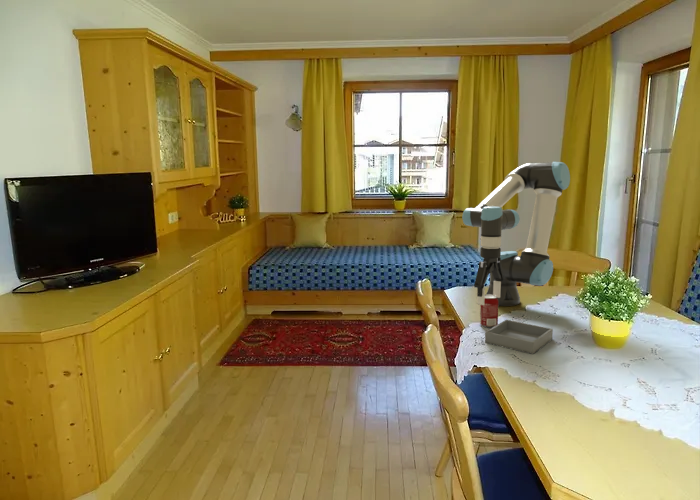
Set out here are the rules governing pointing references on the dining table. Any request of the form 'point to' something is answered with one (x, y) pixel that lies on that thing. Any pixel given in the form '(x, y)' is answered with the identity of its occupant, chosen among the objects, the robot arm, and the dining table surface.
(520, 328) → the bin
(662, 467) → the dining table surface
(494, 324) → the soda can
